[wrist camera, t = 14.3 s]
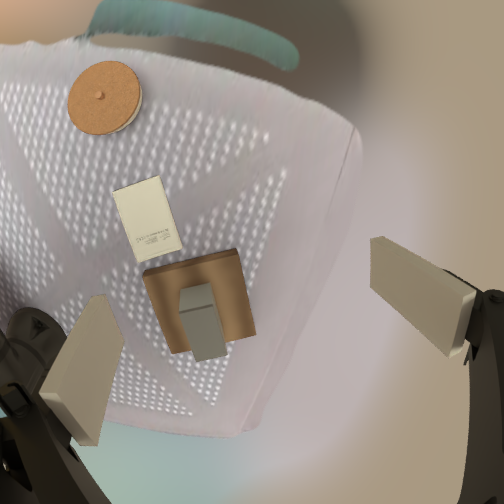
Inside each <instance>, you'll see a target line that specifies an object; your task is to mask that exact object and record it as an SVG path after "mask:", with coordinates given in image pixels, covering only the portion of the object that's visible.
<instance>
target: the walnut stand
mask: <svg viewBox="0 0 504 504" xmlns="http://www.w3.org/2000/svg"><path fill="white" fill-rule="evenodd" d="M142 278H143V281H144V284H145V287H146V289H147V292H148V295H149V298H150V300H151V303H152V306H153V308H154V311H155V314H156V316H157V319H158V321H159V324H160V326H161V329H162V331H163V334H164V336H165V339H166V341H167V344H168V346H169V348H170V351H171V353H172V354H176V353H181V352H186V351H190V350H192V349H191V347H190V344H189V341H188V339H187V336H186V333H185V330H184V328H183V325H182V322H181V319H180V316H179V303H180V290H181V289H184V288H189V287H193V286H197V285H202V284H206V283H210V284H211V288H212V291H213V295H214V299H215V302H216V306H217V310H218V313H219V317H220V320H221V324H222V327H223V333H224V338H225V343H226V342H230V341H234V340H238V339H242V338H246V337H250V336H254V335H256V331H255V326H254V322H253V318H252V313H251V309H250V304H249V300H248V295H247V291H246V286H245V281H244V277H243V272H242V268H241V263H240V259H239V254H238V252H237V249H236V248H235V249H231V250H227V251H223V252H219V253H214V254H210V255H206V256H202V257H198V258H194V259H190V260H185V261H181V262H177V263H173V264H169V265H165V266H161V267H157V268H153V269H149V270H145V272H144V274H143V277H142Z"/></svg>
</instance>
